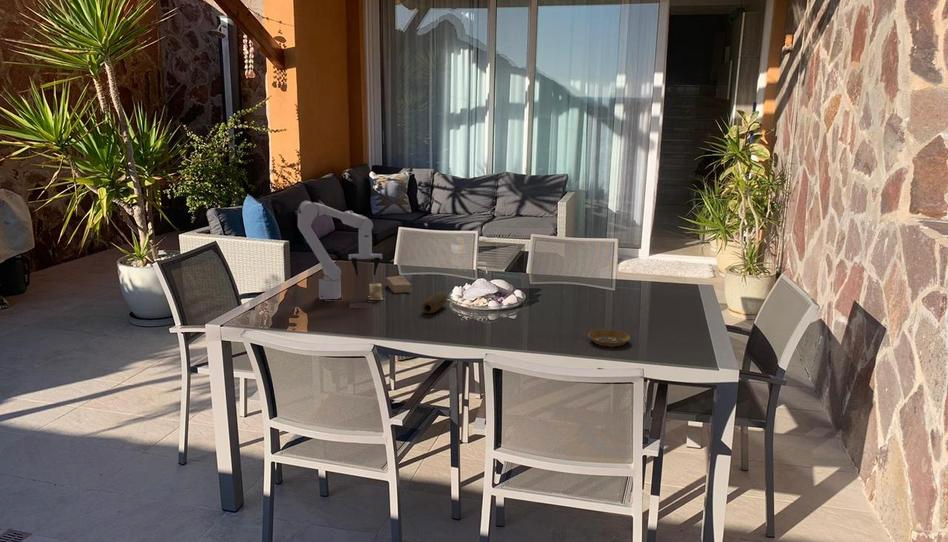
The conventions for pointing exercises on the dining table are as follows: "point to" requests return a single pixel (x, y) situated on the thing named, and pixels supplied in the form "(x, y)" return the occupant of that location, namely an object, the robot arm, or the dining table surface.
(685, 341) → the dining table surface
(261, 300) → the dining table surface
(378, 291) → the birch block
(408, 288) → the brick
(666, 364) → the dining table surface
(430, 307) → the brown hollow tube
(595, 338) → the plant saucer
